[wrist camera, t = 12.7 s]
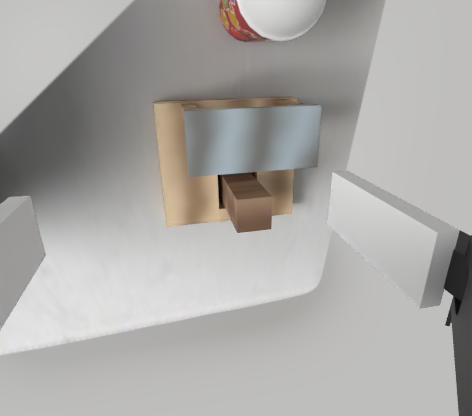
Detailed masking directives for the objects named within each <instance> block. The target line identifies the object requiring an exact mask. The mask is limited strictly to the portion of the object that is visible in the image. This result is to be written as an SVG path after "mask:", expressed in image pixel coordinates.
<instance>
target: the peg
mask: <svg viewBox="0 0 472 416" xmlns="http://www.w3.org/2000/svg"><path fill="white" fill-rule="evenodd" d="M219 182H220V198H221V200H222V202H223V204H224V206H225V208H226V210H227V212H228V214H229V216H230V218H231V221H232V223H233V225H234V227H235V229H236V231H237V233H241V232H250V231H258V230H267V229H271V219H272V196H271V195H270V194H269V193H268V192H267V190H266V189H265V188H264V187H263V186H262V185H261V184H260V183H259V181H258V180H257V179H256V178H255V177H254V176H253V175H252V174H251V173H250V172H248V173H236V174H224V175H219Z"/></svg>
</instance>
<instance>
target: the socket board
mask: <svg viewBox="0 0 472 416" xmlns="http://www.w3.org/2000/svg"><path fill="white" fill-rule="evenodd" d="M153 107H154V117H155V126H156V135H157V144H158V153H159V162H160V171H161V180H162V189H163V198H164V207H165V217H166V226H167V227H169V226H178V225H188V224H197V223H207V222H216V221H225V220H231V218H230V216H229V214H228V212H227V210H226V208H225V206H224V204H223V202H222V201H219V195H218V175H224V174H236V173H248V172H252V175H253V176H254V177H255V178H256V179H257V180H258V181H259V183H260V184H261V185H262V186H263V187H264V188H265V189H266V190H267V192H268V193H269V194H270V195H271V196H272V216H273V215H282V214H292V206H293V185H294V169H298V168H311V167H317V163H318V149H319V135H320V122H321V108H322V105H318V104H310V105H307V104H303V103H298V102H297V98H294V97H268V98H242V99H216V100H191V101H165V102H153Z"/></svg>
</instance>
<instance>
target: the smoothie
mask: <svg viewBox="0 0 472 416" xmlns="http://www.w3.org/2000/svg"><path fill="white" fill-rule="evenodd" d="M326 1H327V0H221V1H220V17H221V20H222V22H223V25H224V27H225V28H226V30H227V31H228V32H229V34H230V35H232V36H233V37H234V38H236V39H237V40H240V41H244V42H256V41H290V40H292V39H295V38H297V37H300V36H302V35H304V34H305V33H306V32H307V31H308V30H309V29H311V28H312V27H313V26H314V25H315V24H316V22H317V20H318V19H319V17H320V16H321V14H322V12H323V10H324V7H325V4H326Z"/></svg>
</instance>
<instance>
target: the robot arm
mask: <svg viewBox="0 0 472 416" xmlns="http://www.w3.org/2000/svg"><path fill="white" fill-rule="evenodd" d="M327 225H328V226H330V227H331V228H332V229H333V230H334V231H335V232H336V233H337V234H338V235H339V236H341V237H342V238H343V239H344V240H345V241H346V242H347V243H348V244H349V245H350V246H352V247H353V248H354V249H355V250H356V251H357V252H358V253H359V254H360V255H362V256H363V257H364V258H365V259H366V260H367V261H368V262H369V263H370V264H371V265H372V266H374V267H375V268H376V269H377V270H378V271H379V272H380V273H381V274H382V275H384V276H385V277H386V278H387V279H388V280H389V281H390V282H391V283H392V284H393V285H394V286H395V287H397V288H398V289H399V290H400V291H401V292H402V293H403V294H404V295H405V296H406V297H408V298H409V299H410V300H411V301H412V302H413V303H414V304H415V305H416V306H417V307H419V308H426V307H432V306H437V305H440V303H441V299H442V295H443V292H444V289H445V290H447V291H448V292H449V293H451V294H452V295H453V300H452V303H451V307H450V310H449V314H448V317H447V321H446V324H445V325H446V326H450V323H451V322H452V331H453V344H454V357H455V370H456V383H457V395H458V409H459V416H472V235H471V236H470V235H468V234H466V233H464V232H462V231H460V230H458V229H457V228H455V227H453V226H451V225H449V224H447V223H445V222H443V221H441V220H440V219H438V218H436V217H434V216H432V215H430V214H428V213H426V212H424V211H423V210H421V209H419V208H417V207H415V206H413V205H411V204H409V203H407V202H406V201H404V200H402V199H400V198H398V197H396V196H394V195H392V194H390V193H388V192H386V191H385V190H383V189H381V188H379V187H377V186H375V185H373V184H372V183H370V182H368V181H366V180H364V179H362V178H360V177H358V176H356V175H355V174H353V173H351V172H349V171H337V172H332V182H331V193H330V203H329V213H328V223H327ZM45 256H46V254H45V251H44V247H43V243H42V239H41V235H40V232H39V228H38V224H37V220H36V216H35V213H34V209H33V205H32V201H31V197H30V195H29V196H16V197H8V198H7V199H6V200H5V201H4V202H3V203H1V204H0V330H1V328H2V326H3V325H4V323H5V321H6V320H7V318H8V317H9V315H10V313H11V312H12V310H13V308H14V307H15V305H16V303H17V302H18V300H19V298H20V297H21V295H22V294H23V292H24V290H25V289H26V287H27V285H28V284H29V282H30V280H31V279H32V277H33V275H34V274H35V272H36V271H37V269H38V267H39V266H40V264H41V262H42V261H43V259H44V257H45Z"/></svg>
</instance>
